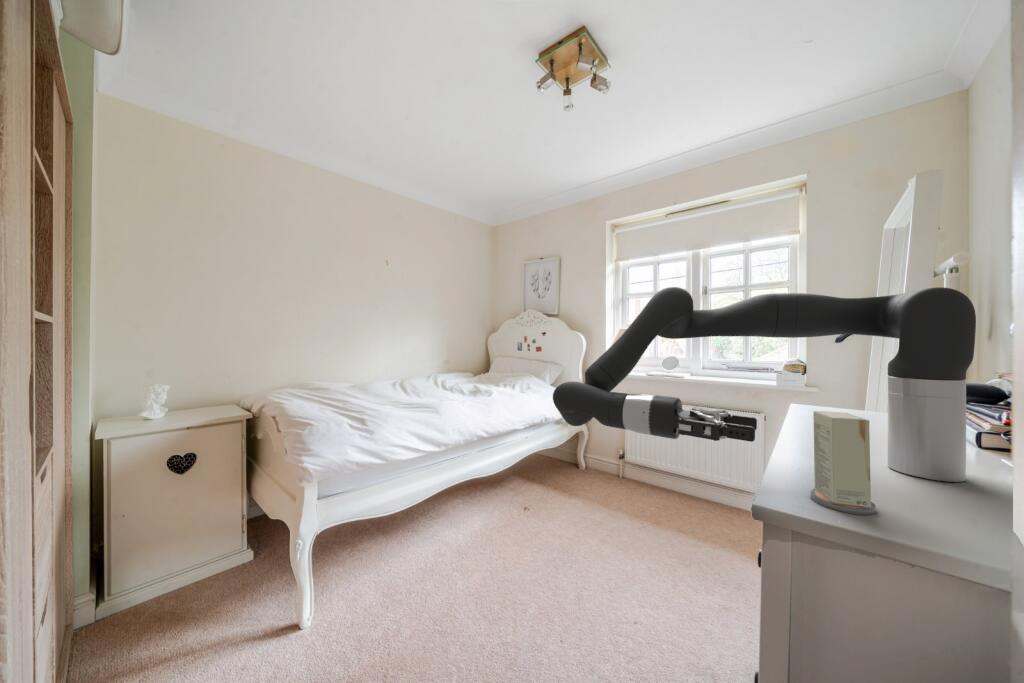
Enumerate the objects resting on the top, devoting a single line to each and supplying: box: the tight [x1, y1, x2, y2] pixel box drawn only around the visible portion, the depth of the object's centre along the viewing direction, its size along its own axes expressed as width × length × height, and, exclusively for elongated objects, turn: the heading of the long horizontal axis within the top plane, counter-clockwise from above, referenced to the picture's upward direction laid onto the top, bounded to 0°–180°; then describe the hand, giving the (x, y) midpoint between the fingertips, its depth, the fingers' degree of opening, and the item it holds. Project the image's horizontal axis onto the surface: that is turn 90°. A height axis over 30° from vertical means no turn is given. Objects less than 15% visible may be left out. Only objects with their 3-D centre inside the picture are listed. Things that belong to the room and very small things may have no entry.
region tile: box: [809, 488, 877, 516], centre depth 52 cm, size 7×7×1 cm
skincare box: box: [813, 410, 872, 508], centre depth 52 cm, size 6×4×12 cm
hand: (755, 429), depth 57 cm, fingers open, 8 cm apart
